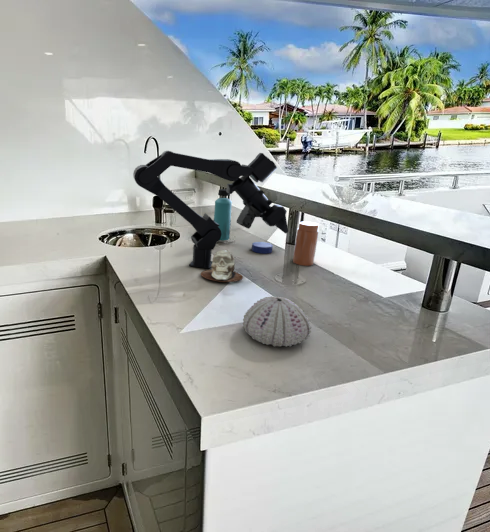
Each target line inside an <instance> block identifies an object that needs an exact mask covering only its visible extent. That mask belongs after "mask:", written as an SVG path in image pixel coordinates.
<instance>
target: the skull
mask: <svg viewBox="0 0 490 532" xmlns="http://www.w3.org/2000/svg"><path fill="white" fill-rule="evenodd" d="M235 260H236V259H235V257H234V255H233V254H232V253H231V252H230V251H228V250H226V249H220V250H217V251H216V252H215V253H214V255H213V257H212V260H211V261H212V265H211V269H206V270H203V271H202V272H200V276H201V277H202V278H204V279H206V280H210V281H215V282H220V283H221V282H222V283H231V282H232V283H234V282H239V281H242V280H243V278H244V276H243V275H242V274H241V273H240V272H239V273H238V272H237V271H234V270H235V262H236V261H235Z"/></svg>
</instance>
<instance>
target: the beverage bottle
mask: <svg viewBox="0 0 490 532" xmlns="http://www.w3.org/2000/svg"><path fill="white" fill-rule="evenodd" d="M226 190H227V188H220V189H219V190H218V194H217V196H220V197H217V199H215V200H214V212H213V213H214V214H213V219H212V220H214V221H215V222H216V223H218V224H219V225H220V226H218V227H219V228H220V230H221V234H222V235H221V238H220V240H219V241H228V240H229V239H230V237H231V233H230V232H231V225H232V207H233V206H232V204H233V201H232V200H231V199H230V198H228V197H229V196H230V195H231V194H229V193H227V192H226Z"/></svg>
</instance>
